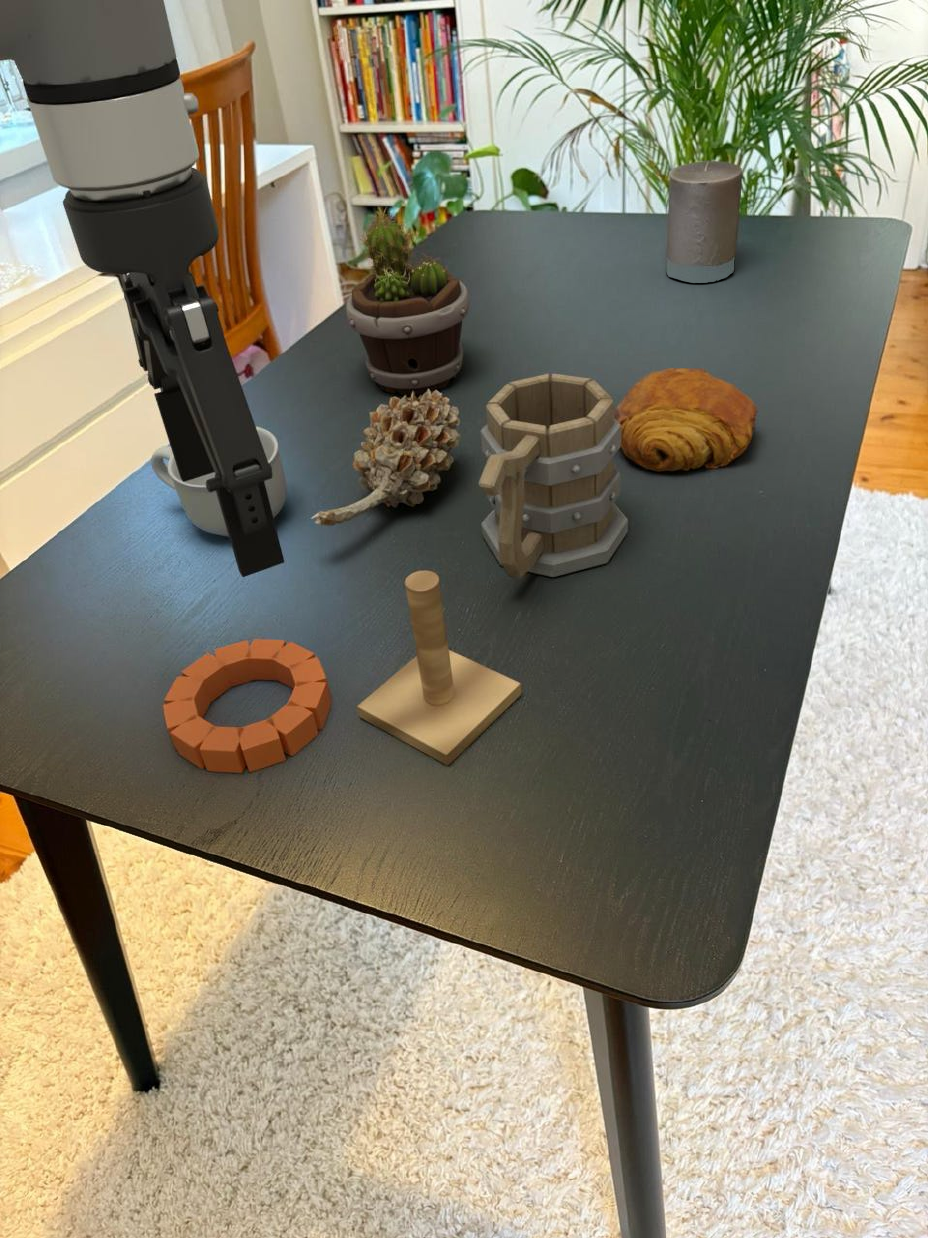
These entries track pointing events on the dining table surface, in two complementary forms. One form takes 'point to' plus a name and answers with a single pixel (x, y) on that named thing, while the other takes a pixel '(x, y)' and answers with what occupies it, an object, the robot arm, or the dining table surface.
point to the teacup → (206, 505)
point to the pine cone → (402, 453)
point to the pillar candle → (703, 213)
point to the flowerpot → (407, 315)
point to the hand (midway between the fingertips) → (228, 517)
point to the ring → (259, 739)
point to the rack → (437, 685)
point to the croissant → (684, 421)
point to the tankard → (551, 476)
